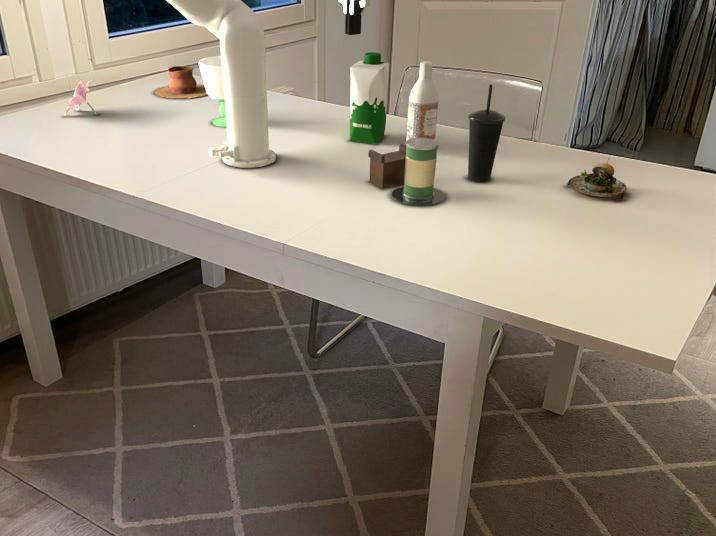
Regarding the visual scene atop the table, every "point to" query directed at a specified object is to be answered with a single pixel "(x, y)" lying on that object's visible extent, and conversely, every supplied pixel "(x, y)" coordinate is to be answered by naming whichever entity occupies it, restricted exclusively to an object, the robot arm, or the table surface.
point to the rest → (387, 167)
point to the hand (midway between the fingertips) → (352, 33)
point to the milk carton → (368, 99)
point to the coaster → (401, 199)
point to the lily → (79, 97)
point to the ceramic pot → (181, 84)
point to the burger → (599, 182)
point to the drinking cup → (483, 141)
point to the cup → (214, 84)
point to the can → (420, 168)
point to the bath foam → (423, 105)
